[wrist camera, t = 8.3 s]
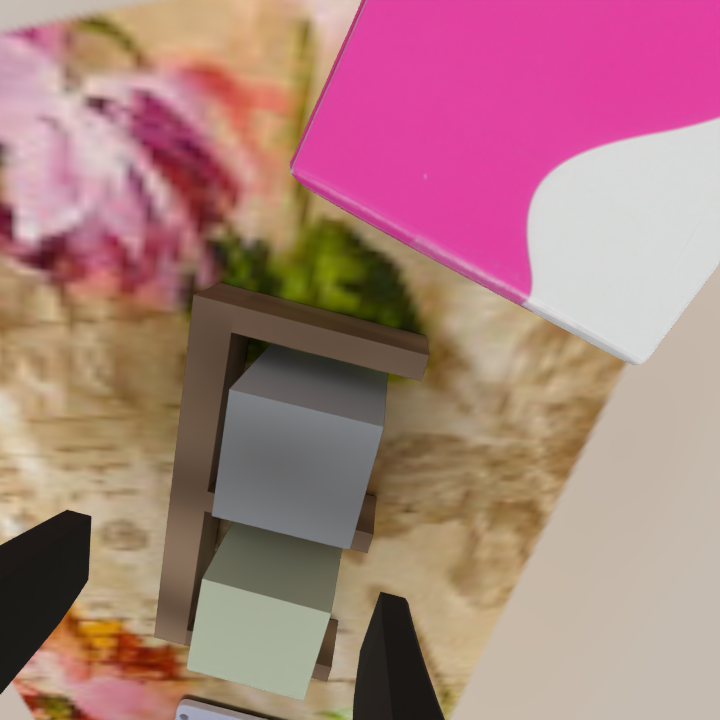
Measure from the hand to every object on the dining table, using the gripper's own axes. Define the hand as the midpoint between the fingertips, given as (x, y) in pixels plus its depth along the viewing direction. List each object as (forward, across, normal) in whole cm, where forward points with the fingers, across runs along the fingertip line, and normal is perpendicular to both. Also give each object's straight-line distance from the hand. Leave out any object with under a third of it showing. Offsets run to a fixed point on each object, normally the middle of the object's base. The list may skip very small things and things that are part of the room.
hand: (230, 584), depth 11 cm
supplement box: (+10, -3, -11) cm, 15 cm away
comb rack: (+9, 0, +4) cm, 10 cm away
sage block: (+10, 0, +8) cm, 12 cm away
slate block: (+10, 0, 0) cm, 10 cm away
